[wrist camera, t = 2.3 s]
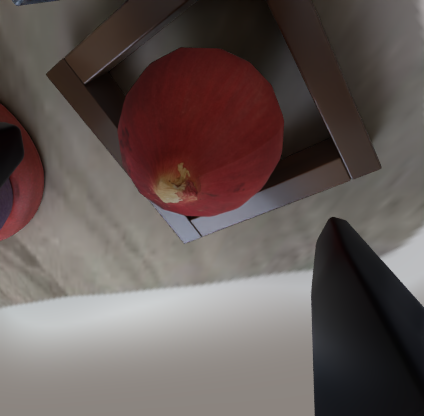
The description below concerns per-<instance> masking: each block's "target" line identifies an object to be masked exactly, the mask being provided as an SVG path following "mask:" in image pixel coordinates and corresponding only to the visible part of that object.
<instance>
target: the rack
mask: <svg viewBox="0 0 424 416" xmlns="http://www.w3.org/2000/svg"><path fill="white" fill-rule="evenodd" d="M197 1H198V0H127V1H126V2H125V3H124V4H123V5H122V6H120V7H119V8H118V9H117V10H116V11H115V12H114V13H113V14H112V15H110V16H109V17H108V18H107V19H106V20H105V21H104V22H103V23H102V24H101V25H99V26H98V27H97V28H96V29H95V30H94V31H93V32H92V33H91V34H90V35H88V36H87V37H86V38H85V39H84V40H83V41H82V42H81V43H80V44H79V45H77V46H76V47H75V48H74V49H73V50H72V51H71V52H70V53H69V54H67V55H66V56H65V58H63V59H62V60H61V61H60V62H58V63H57V64H56V65H55V66H54V67H53V68H52V69H51V70H50V71H48V72H47V73H46V75H47V77H48V78H49V79H50V80H51V81H52V83H53V84H54V85H55V86H56V88H57V89H58V90H59V91H60V92H61V94H62V95H63V96H64V97H65V99H66V100H67V101H68V102H69V103H70V105H71V106H72V107H73V108H74V110H75V111H76V112H77V113H78V114H79V116H80V117H81V118H82V119H83V121H84V122H85V123H86V124H87V125H88V127H89V128H90V129H91V130H92V132H93V133H94V134H95V135H96V136H97V138H98V139H99V140H100V141H101V143H102V144H103V145H104V146H105V147H106V149H107V150H108V151H109V152H110V154H111V155H112V156H113V157H114V158H115V160H116V161H117V162H118V163H119V165H120V166H121V167H122V168H123V169H124V171H125V172H126V173H127V171H126V170H125V168H124V167H123V164H122V158H121V152H120V145H119V139H118V132H117V131H118V125H119V120H120V117H121V113H122V108H123V104H124V101H125V97H126V96H125V95H124V93H123V92H122V91H121V89H120V88H119V87H118V85H117V84H116V83H115V81H114V80H113V78H112V77H111V76H110V74H109V73H108V71H110V70H111V69H112V68H114V67H115V66H116V65H117V64H119V63H120V62H121V61H122V60H124V59H125V58H126V57H127V56H129V55H130V54H131V53H132V52H134V51H135V50H136V49H137V48H139V47H140V46H141V45H142V44H144V43H145V42H146V41H148V40H149V39H150V38H151V37H153V36H154V35H155V34H156V33H158V32H159V31H160V30H161V29H163V28H164V27H165V26H166V25H168V24H169V23H170V22H171V21H173V20H174V19H175V18H176V17H178V16H179V15H180V14H181V13H183V12H184V11H185V10H187V9H188V8H189V7H190V6H192V5H193V4H194V3H195V2H197ZM266 1H267V4H268V6H269V8H270V10H271V12H272V14H273V16H274V18H275V20H276V22H277V25H278V27H279V29H280V31H281V33H282V35H283V37H284V39H285V41H286V43H287V46H288V48H289V50H290V52H291V54H292V56H293V58H294V60H295V62H296V65H297V67H298V69H299V71H300V73H301V75H302V77H303V79H304V81H305V83H306V86H307V88H308V90H309V92H310V94H311V96H312V98H313V100H314V102H315V104H316V107H317V109H318V111H319V113H320V115H321V117H322V119H323V121H324V123H325V125H326V128H327V130H328V132H329V134H330V136H331V138H329V139H327V140H325V141H322V142H320V143H318V144H316V145H314V146H311V147H309V148H307V149H305V150H302V151H300V152H298V153H296V154H294V155H291V156H289V157H287V158H285V159H282V160H280V161H279V162H278V164H277V165H276V167H275V169H274V170H273V172H272V174H271V175H270V177H269V179H268V180H267V182H266V184H265V185H264V186H263V187H262V188H261V190H260V191H259V192H257V193H256V194H255V195H254V196H253V197H251V198H250V199H249V200H248V201H247V202H246V203H244V204H243V205H242V206H240V207H239V208H237V209H235V210H232V211H228V212H225V213H222V214H219V215H216V216H212V217H202V216H184V215H181V214H178V213H174V212H171V211H167V210H163V209H161V208H160V207H158V206H157V205H156V204H154V203H153V202H152V201H150V200H149V199H148V200H149V201H150V202H151V204H152V205H153V206H154V207H155V209H156V210H157V211H158V212H159V213H160V215H161V216H162V217H163V218H164V220H165V221H166V222H167V223H168V224H169V226H170V227H171V228H172V229H173V231H174V232H175V233H176V234H177V235H178V237H179V238H180V239H181V240H182V242H183V243H184V244H185V243H188V242H190V241H193V240H195V239H198V238H201V237H202V236H206V235H208V234H211V233H213V232H216V231H219V230H221V229H224V228H227V227H229V226H232V225H235V224H237V223H240V222H242V221H245V220H248V219H250V218H253V217H256V216H258V215H261V214H264V213H266V212H269V211H271V210H274V209H277V208H279V207H282V206H285V205H287V204H290V203H292V202H295V201H298V200H300V199H303V198H306V197H308V196H311V195H314V194H316V193H319V192H321V191H324V190H327V189H329V188H332V187H335V186H337V185H340V184H343V183H345V182H348V181H350V180H351V179H356V178H358V177H361V176H363V175H366V174H369V173H371V172H374V171H377V170H379V169H381V164H380V162H379V159H378V157H377V155H376V152H375V150H374V148H373V145H372V143H371V140H370V138H369V136H368V133H367V131H366V129H365V126H364V124H363V121H362V119H361V117H360V114H359V112H358V109H357V107H356V105H355V102H354V100H353V98H352V95H351V93H350V90H349V88H348V86H347V83H346V81H345V79H344V76H343V74H342V71H341V69H340V67H339V64H338V62H337V59H336V57H335V55H334V52H333V50H332V48H331V45H330V43H329V40H328V38H327V36H326V33H325V31H324V29H323V26H322V24H321V21H320V19H319V17H318V14H317V12H316V9H315V7H314V5H313V2H312V0H266ZM127 174H128V173H127ZM128 176H129V175H128ZM129 177H130V176H129Z"/></svg>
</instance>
